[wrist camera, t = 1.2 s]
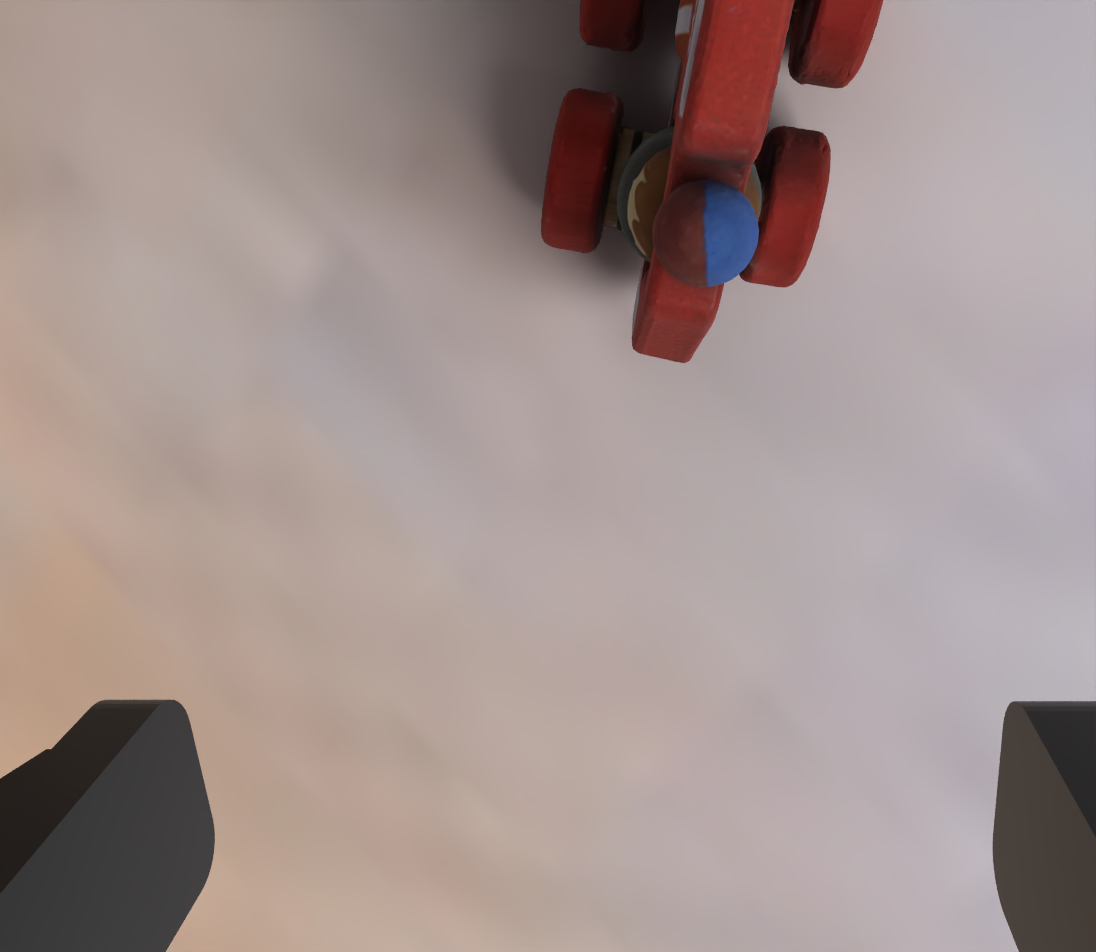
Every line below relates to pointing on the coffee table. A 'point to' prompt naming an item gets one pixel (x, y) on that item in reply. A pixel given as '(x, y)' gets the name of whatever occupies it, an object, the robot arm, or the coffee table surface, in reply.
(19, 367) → the coffee table surface
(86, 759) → the robot arm
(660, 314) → the toy fire truck
